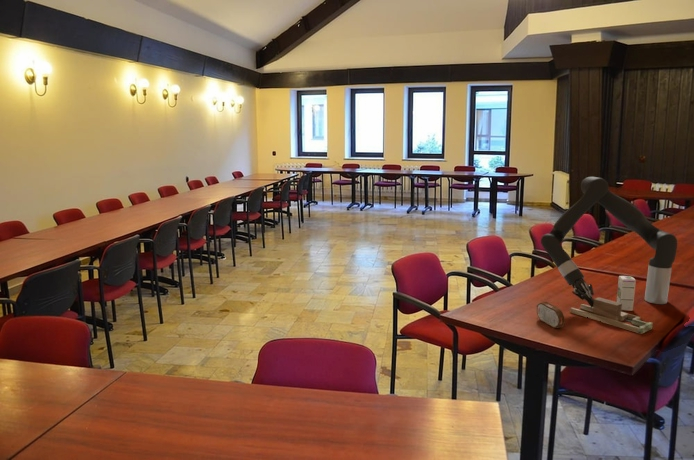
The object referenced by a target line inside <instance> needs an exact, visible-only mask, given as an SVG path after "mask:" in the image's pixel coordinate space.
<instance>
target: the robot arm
mask: <svg viewBox="0 0 694 460" xmlns="http://www.w3.org/2000/svg"><path fill="white" fill-rule="evenodd" d="M580 189H581V192H582V194H583V195H582V196H581V197H580V199H578V201H577V202H575V203H574V204H573V205H572V206H571V207H569V208H568V209H567V210H565V211H564V213H562V214H561V215H560V216H559V218H557V220H556V221H555V223H554V224H553V227H552V230H551V231H550V232H549V233H545V234H543V235H542V236H541V238H540V244H541V246H542V248H543V249H544V251H545V252H546V253H547V254H548V255H549V256H550V258H551V260H552V262H553V263H554V265H555V266H556V268H557V269H558V271H559V273H560V274H561V276H562V277H563V279H564V280H565V281H566V283H567V285H568V286H571V287H572V288H573V290H572V291H571V293H572V294H573V295H575V296H576V297H578V298H580V299H581V300H582V301H586V302H587V304H588V306H591V307H593V303H594V299H595V298H593V296H594V289H593V288H594V287H593V285H592V284H588V283H587V282H586V281H585V280H584V278H585V275H584V274H583V272H582V271H581V269H580V268H579V266H578V265H577V264H576V262H575V261H574V260H572V258H571V257H570V256H569V254H568V253H567V251H566V250H565V249H564V248H563V246H562V245H561V243H563V241H564V239H565V237H566V236H567V234H568V233H569V232H570V231H571V230H572V228H573V227H574V226H575V225H576V224H577V222H578V221H579V220H580V219H581V218H582V217H583V215H585V214H586V213H587V212H588V211H589V210H590V209H591V208H592V207H593V206H595V204H596V203H598V204H599V205H600V206H601V207H603V208H604V209H605V210H606V211H607V212H608V213H609V214H610V215H611V216H613V217H614V218H615V219H616V220H617V221H618V222H620V223H621V224H622V225H623V226H625V227H626V228H628V229H630V230H631V232H634V233H635V234H637V235H638V236H639V237H641V239H643V241H644V242H645V243H647V244H648V246H649V247H650V248H652V249H653V250H655V253H654V257H651V258H649V260H648V266H647V267H648V269H647V275H646V284H645V293H644V301H645V302H647V303H651V304H655V305H666V304H667V303H668V297H669V296H668V295H669V290H670V283H671V276H672V268H673V264H674V262H675V261H676V255H677V249H678V239H677V237H676V236H675V235H674V234H672V233H670V232H667V231H663V230H662V229H660V228H658V227H656V226H655V225H654V224H652V223H651V222H650V221H649V220H648V219H647V218H646V216H645V214H644V213H643V212H642V211H641V210H640V209H639V208H638V207H636V205H634V204H632V203H631V202H630V201H628V200H626V199H625V198H623V197H621V196H619V195H617V194H616V193H613V192H612V191H610V189H609V182H608V181H607V180H606V179H604V178H602V177H596V176H588V177H585V178H584V179H582V180H581V183H580Z"/></svg>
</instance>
